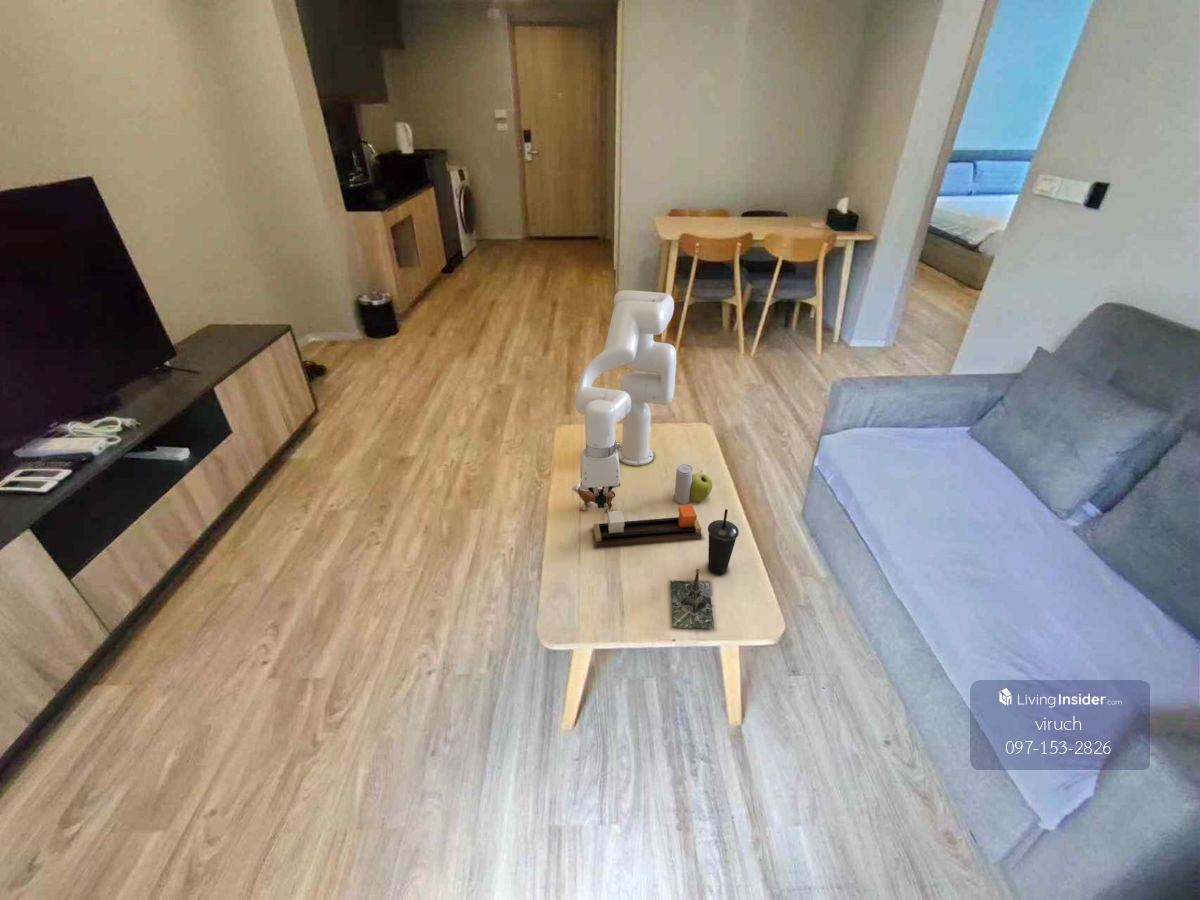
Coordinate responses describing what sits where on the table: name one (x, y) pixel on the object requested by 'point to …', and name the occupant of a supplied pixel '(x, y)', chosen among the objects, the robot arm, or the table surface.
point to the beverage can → (683, 483)
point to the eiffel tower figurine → (691, 604)
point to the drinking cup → (721, 544)
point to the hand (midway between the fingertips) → (600, 504)
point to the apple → (700, 487)
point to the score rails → (647, 533)
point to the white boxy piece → (615, 522)
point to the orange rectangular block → (686, 516)
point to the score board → (646, 539)
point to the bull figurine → (592, 497)
